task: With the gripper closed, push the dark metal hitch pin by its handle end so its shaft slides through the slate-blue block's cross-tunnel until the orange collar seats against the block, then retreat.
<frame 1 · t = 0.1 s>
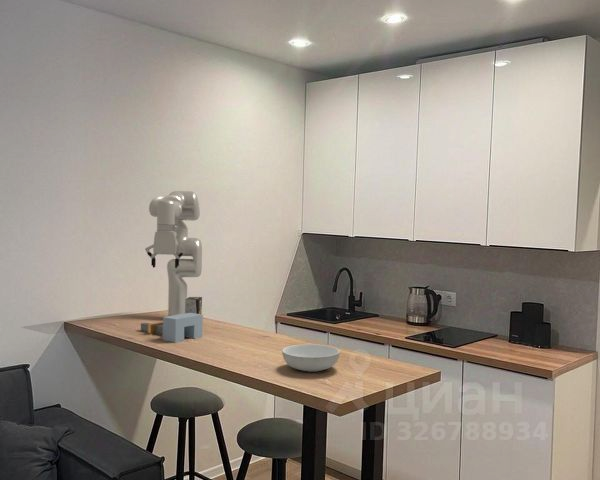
hand: (165, 267, 259), 31 cm above the breakfast bar, tool pointing down, fingers open, 9 cm apart
cross-hole block: (182, 338, 260), on the breakfast bar
serving bowl: (310, 369, 214), on the breakfast bar
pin: (168, 335, 265), on the breakfast bar
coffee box: (193, 332, 273), on the breakfast bar
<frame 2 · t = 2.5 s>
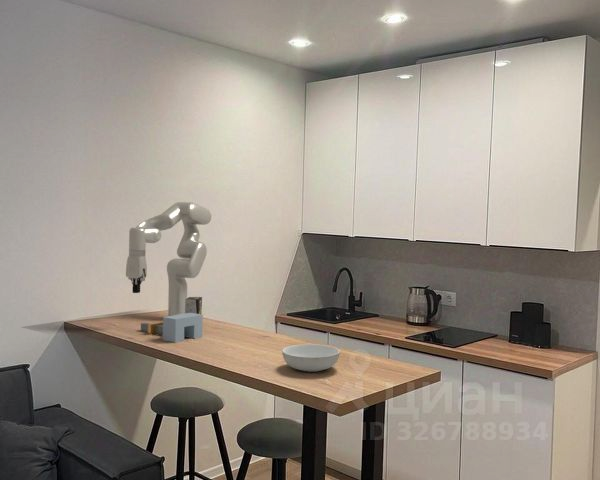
hand: (136, 292, 277), 17 cm above the breakfast bar, tool pointing down, fingers closed
nothing on the breakfast bar moved.
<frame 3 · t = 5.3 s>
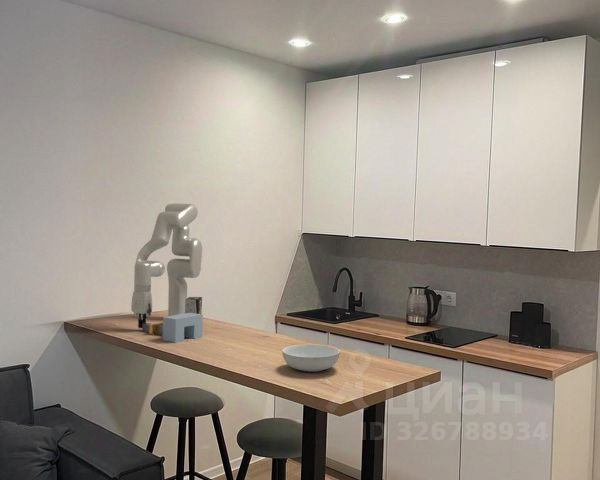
hand: (142, 327, 275), 1 cm above the breakfast bar, tool pointing down, fingers closed
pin: (169, 335, 264), on the breakfast bar, touching gripper
everything else where it was.
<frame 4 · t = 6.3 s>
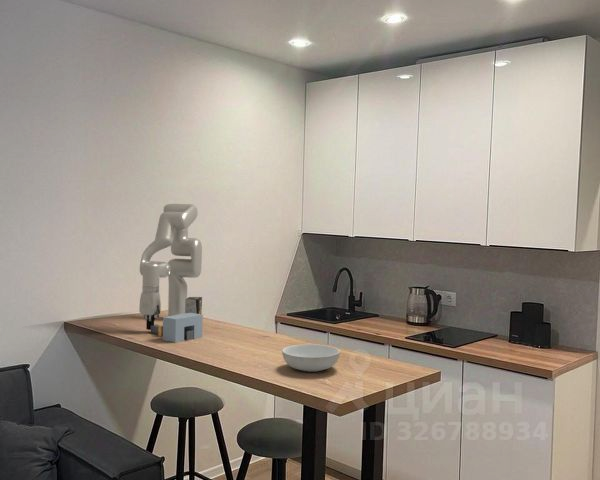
hand: (150, 329, 272), 1 cm above the breakfast bar, tool pointing down, fingers closed
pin: (178, 337, 261), on the breakfast bar, touching gripper
everything else where it was.
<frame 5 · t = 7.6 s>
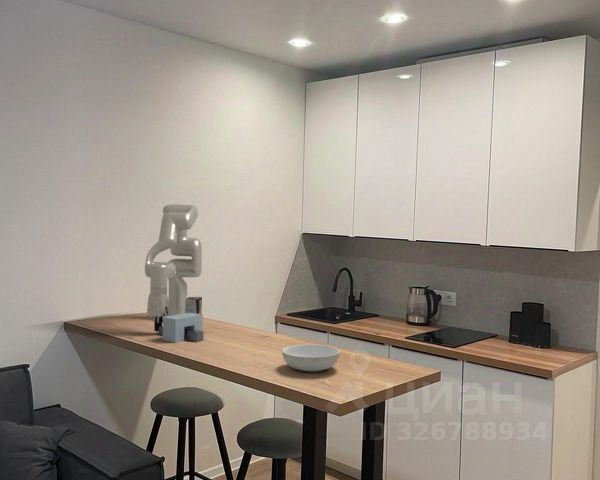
hand: (158, 330, 269), 1 cm above the breakfast bar, tool pointing down, fingers closed
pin: (188, 338, 259), on the breakfast bar, touching cross-hole block, gripper
everything else where it was.
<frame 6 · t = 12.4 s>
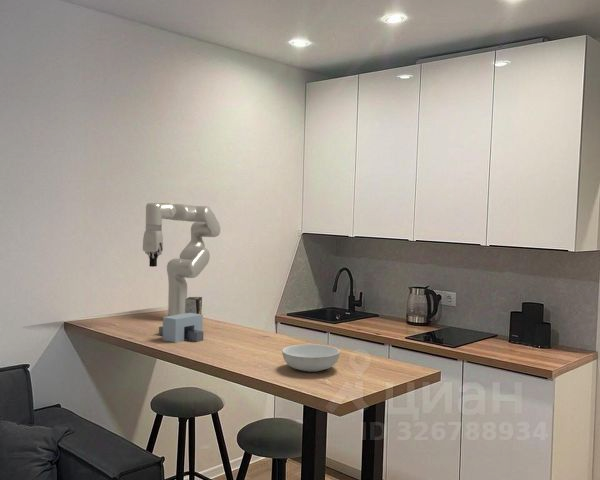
hand: (153, 266, 285), 29 cm above the breakfast bar, tool pointing down, fingers closed
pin: (188, 339, 258), on the breakfast bar
everything else where it was.
at the end: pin 0.6 cm from the target spot on the cross-hole block, point 0.0 cm above the cross-hole block's base; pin tilted 0° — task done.
